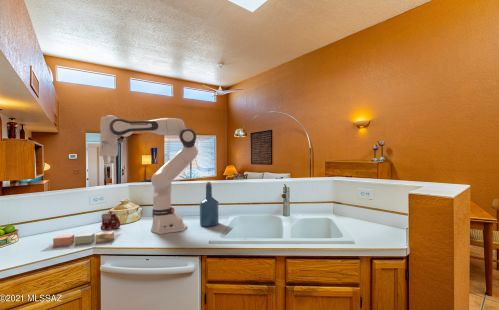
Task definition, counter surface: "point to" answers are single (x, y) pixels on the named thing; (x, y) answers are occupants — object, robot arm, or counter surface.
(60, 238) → the terracotta brick
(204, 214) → the wine bottle
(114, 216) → the dark brown lump
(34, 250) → the counter surface
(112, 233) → the maple brick
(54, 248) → the white flat board
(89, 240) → the sage brick
